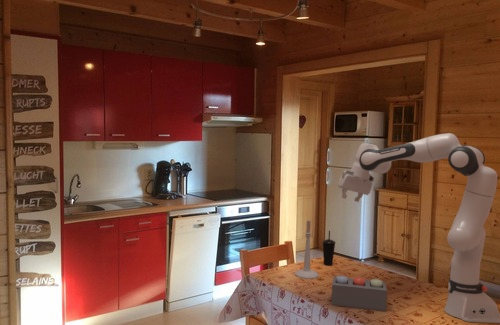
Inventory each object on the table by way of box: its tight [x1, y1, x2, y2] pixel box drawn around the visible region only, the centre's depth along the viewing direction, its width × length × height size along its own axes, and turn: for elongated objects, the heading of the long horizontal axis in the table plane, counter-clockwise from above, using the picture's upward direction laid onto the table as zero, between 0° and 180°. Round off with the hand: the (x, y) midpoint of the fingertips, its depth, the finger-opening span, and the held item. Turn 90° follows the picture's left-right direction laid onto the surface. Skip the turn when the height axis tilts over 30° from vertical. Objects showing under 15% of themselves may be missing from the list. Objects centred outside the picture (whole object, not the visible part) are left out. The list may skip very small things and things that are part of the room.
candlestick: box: [294, 219, 319, 280], centre depth 230 cm, size 13×13×30 cm
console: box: [330, 276, 388, 312], centre depth 192 cm, size 23×12×9 cm, turn 76°
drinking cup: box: [321, 230, 336, 267], centre depth 251 cm, size 8×8×20 cm
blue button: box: [336, 275, 348, 284], centre depth 194 cm, size 5×5×4 cm
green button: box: [370, 278, 383, 288], centre depth 190 cm, size 5×5×4 cm
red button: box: [353, 276, 366, 286], centre depth 192 cm, size 5×5×4 cm
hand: (350, 199), depth 216 cm, fingers open, 8 cm apart
